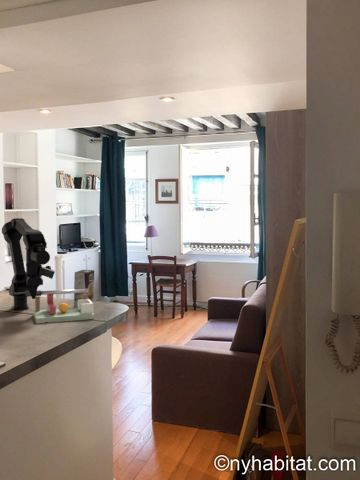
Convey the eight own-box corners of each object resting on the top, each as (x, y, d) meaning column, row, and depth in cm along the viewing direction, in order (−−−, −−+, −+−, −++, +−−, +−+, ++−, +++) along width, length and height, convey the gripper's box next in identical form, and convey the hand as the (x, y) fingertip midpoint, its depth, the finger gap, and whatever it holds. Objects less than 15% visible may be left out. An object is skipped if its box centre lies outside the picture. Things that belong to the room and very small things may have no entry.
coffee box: (86, 307, 202) (87, 273, 201) (73, 306, 204) (73, 272, 202) (94, 303, 211) (94, 269, 210) (81, 302, 213) (82, 269, 211)
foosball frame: (33, 315, 188) (33, 296, 187) (88, 311, 197) (88, 293, 196) (36, 323, 176) (36, 303, 175) (94, 318, 185) (94, 300, 184)
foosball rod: (25, 309, 186) (25, 290, 186) (87, 305, 197) (87, 287, 196) (27, 315, 177) (27, 295, 176) (92, 311, 187) (92, 292, 186)
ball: (58, 311, 187) (58, 302, 187) (67, 310, 189) (67, 301, 188) (59, 313, 184) (59, 304, 183) (69, 313, 185) (69, 303, 185)
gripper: (56, 264, 179) (55, 302, 181) (51, 257, 196) (50, 292, 198) (26, 265, 175) (26, 303, 176) (24, 258, 192) (24, 293, 194)
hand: (33, 298), depth 186 cm, fingers closed on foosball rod, 2 cm apart
